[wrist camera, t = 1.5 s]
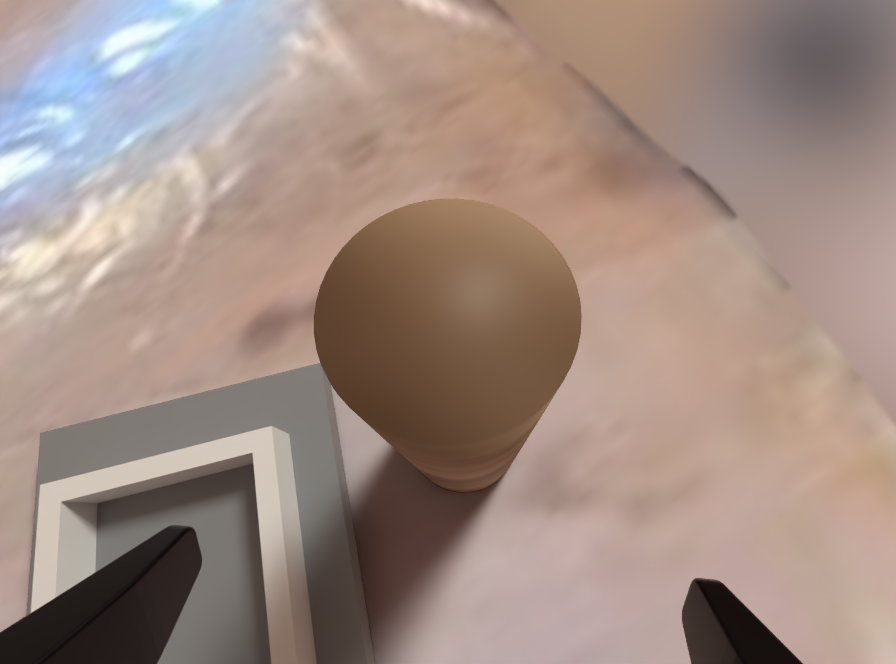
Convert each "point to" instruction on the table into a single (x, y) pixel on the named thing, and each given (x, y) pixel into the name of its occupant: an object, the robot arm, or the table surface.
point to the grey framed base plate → (217, 517)
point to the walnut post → (449, 334)
